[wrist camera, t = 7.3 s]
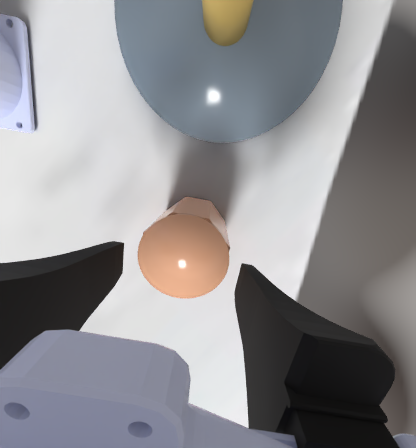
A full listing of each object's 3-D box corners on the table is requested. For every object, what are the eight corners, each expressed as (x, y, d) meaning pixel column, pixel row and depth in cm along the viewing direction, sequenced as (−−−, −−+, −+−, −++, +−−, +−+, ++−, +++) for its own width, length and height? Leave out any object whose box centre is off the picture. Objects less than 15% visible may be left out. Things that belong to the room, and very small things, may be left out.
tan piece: (160, 249, 20) (134, 290, 14) (167, 192, 19) (141, 207, 12) (217, 258, 20) (219, 304, 14) (229, 203, 19) (238, 224, 12)
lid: (116, 124, 17) (111, 122, 16) (126, -151, 12) (119, -178, 11) (296, 158, 17) (300, 157, 16) (370, -97, 13) (383, -118, 12)
